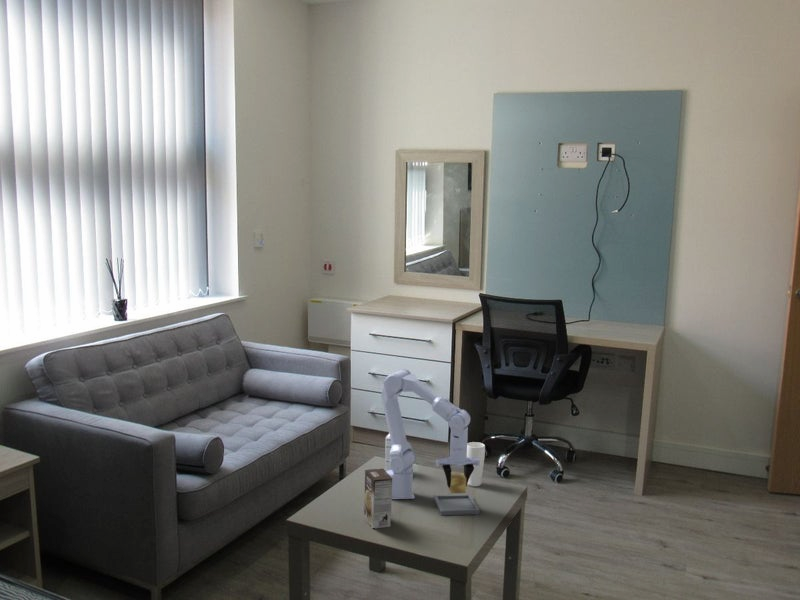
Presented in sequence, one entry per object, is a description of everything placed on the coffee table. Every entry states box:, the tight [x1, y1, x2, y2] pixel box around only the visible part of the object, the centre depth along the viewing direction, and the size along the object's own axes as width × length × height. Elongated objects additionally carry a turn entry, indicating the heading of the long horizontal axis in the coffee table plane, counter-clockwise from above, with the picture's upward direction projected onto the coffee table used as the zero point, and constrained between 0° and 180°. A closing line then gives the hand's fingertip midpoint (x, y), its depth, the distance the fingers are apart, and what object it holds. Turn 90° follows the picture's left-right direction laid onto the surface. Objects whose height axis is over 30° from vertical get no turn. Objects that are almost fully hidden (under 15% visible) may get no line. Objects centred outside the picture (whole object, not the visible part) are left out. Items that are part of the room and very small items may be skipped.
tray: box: [433, 493, 481, 516], centre depth 242 cm, size 13×13×2 cm
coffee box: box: [363, 468, 393, 529], centre depth 228 cm, size 9×6×16 cm
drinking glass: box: [467, 441, 486, 487], centre depth 262 cm, size 7×7×15 cm
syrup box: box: [384, 433, 392, 471], centre depth 271 cm, size 6×6×14 cm
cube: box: [447, 472, 467, 494], centre depth 241 cm, size 5×5×5 cm
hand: (456, 485), depth 241 cm, fingers closed on cube, 5 cm apart
